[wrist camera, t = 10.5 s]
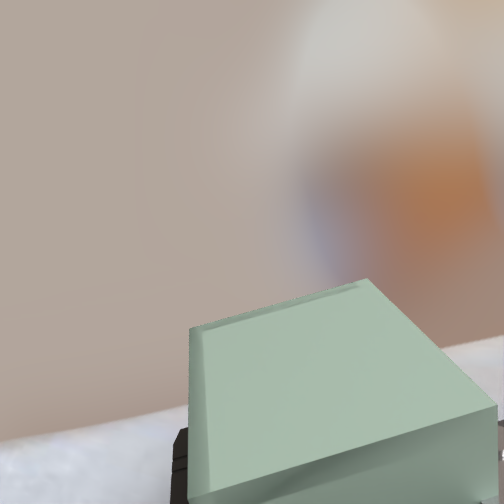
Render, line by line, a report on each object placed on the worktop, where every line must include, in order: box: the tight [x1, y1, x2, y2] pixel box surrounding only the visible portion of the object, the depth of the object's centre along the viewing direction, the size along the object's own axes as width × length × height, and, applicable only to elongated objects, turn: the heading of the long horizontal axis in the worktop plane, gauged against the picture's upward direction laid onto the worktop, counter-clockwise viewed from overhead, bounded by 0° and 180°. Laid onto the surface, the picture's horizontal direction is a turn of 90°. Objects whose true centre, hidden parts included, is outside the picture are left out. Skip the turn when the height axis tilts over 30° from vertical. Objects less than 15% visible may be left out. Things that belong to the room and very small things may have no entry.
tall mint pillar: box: [187, 279, 499, 504], centre depth 11 cm, size 6×6×9 cm
